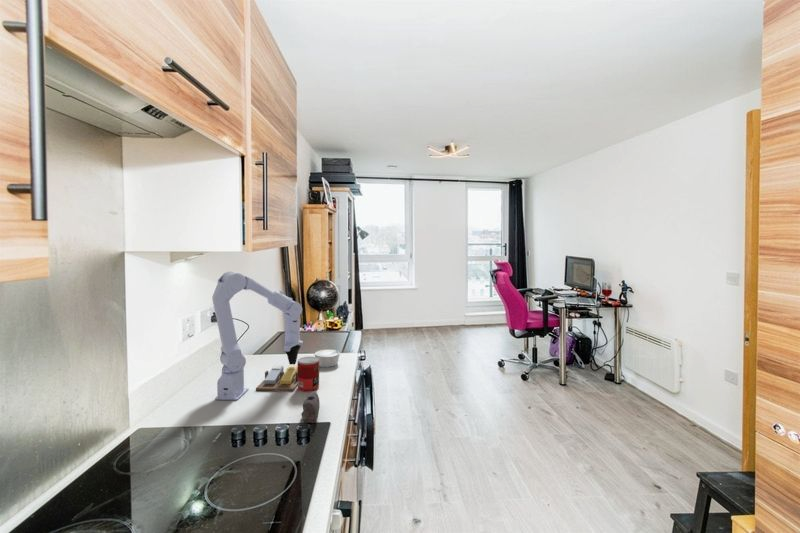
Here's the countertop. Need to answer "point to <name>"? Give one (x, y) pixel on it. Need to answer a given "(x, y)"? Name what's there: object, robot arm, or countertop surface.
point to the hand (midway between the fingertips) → (292, 363)
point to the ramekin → (327, 357)
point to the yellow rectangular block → (289, 375)
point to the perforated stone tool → (310, 407)
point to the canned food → (308, 373)
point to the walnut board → (278, 384)
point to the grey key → (273, 374)
